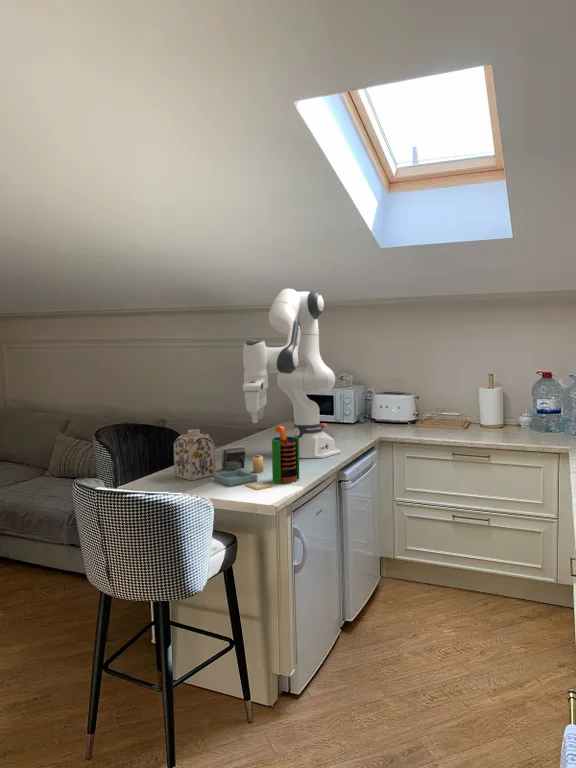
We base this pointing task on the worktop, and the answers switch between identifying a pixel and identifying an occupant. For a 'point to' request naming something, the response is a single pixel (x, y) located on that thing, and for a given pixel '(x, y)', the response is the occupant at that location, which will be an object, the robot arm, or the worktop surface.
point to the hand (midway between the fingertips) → (257, 420)
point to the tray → (235, 478)
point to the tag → (258, 485)
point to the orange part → (257, 463)
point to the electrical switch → (233, 455)
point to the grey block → (233, 466)
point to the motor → (285, 457)
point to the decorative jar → (194, 456)
